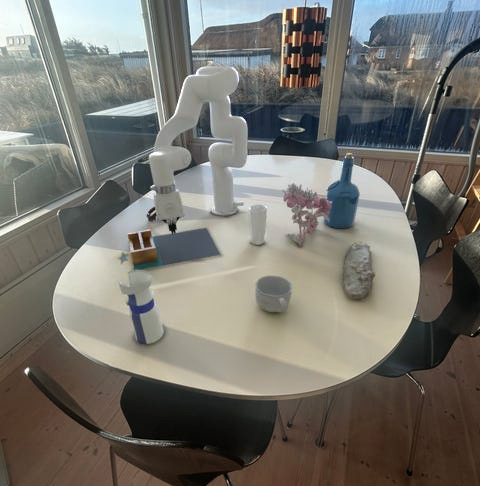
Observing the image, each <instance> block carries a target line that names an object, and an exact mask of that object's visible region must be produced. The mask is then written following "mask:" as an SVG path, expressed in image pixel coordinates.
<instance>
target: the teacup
mask: <svg viewBox="0 0 480 486" xmlns="http://www.w3.org/2000/svg"><path fill="white" fill-rule="evenodd" d="M254 286H255V291H254V293H255V294H254V297H255V298H254V299H255V302H256V304H257V306H258V307H259V308H260V309H261V310H264V311H265V312H268V313H285V312H286V311H287V307H288V306H289V305H290V302H291V299H292V297H291V296H292V291H293V284H292V282H291V281H290V280H289V279H287V278H286V277H283V276H280V275H265V276H262V277H260V278H258V279H257V280H256V281H255V285H254Z"/></svg>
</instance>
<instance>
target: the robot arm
mask: <svg viewBox="0 0 480 486" xmlns="http://www.w3.org/2000/svg"><path fill="white" fill-rule="evenodd" d="M239 82H240V77H239V73H238V71H237V70H236V69H235V68H234V67H233V66H227V65H225V66H223V65H222V66H220V65H219V66H218V65H217V66H215V65H213V66H212V65H211V66H209V65H208V66H201V67H200V68H198V69H197V70H196V72H195V74H191V75H188V76H186V78H184V81H183V83H182V88H181V91H180V94H179V98H178V102H177V105H176V108H175V112H174V114H173V116H172V117H170V119H168V121H166V123H165V124H164V125H163V126H162V127H161V129H160V130H159V131H158V134H157V136H156V139H155V142H154V145H153V147H154V148H153V152H152V153H150V154H149V155H148V162H149V167H150V172H151V177H152V182H153V185H151V186H150V191H153V204H154V206H155V212H156V215H157V217H156V222H163V223H165V224H166V225H167V227H168V231H169V232H170V233H171V234H173V233H177V230H178V227H177V223H178V221H179V220H180V219H182V218H184V217H185V216H186V215H185V212H184V211H185V210H184V206H183V200H182V197H181V194H180V190H179V189H178V188H177V187H176V186H177V185H176V180H175V174H174V172H176V171H181V170H184V169H186V168H188V167H189V166H190V164H191V162H192V154H191V152H190V151H189V150H188V149H187V148H185V147H182V146H175V145H172V144H173V141H174V140H175V139H176V138H177V137H178V136H179V135H181V134H182V133H184V132H186V131H189V130H191V129H193V128H194V127H196V126H197V124H198V122H199V118H200V115H201V112H202V108H203V105H204V103H209V113H210V116H209V117H210V133H211V135H212V137H213V139H216V140H222V141H228V142H222V141H221V142H214V143H212V144H211V145H210V146H209V147H208V152H207V155H208V161H209V165H210V169H211V177H212V191H213V206H212V207H211V208H210V209H211V212H212V214H213V215H215V216H224V217H227V216H232V215H234V214H236V213H237V212H238V207H241V206H244V204H245V203H244V201H240V200H235V197H234V196H235V195H234V174H233V171H232V168H234V169H242V168H243V167H245V165H246V163H247V160H248V144H249V143H248V140H249V135H248V134H249V131H248V123H247V121H246V120H245V119H244V118H243V117H242V116H239V115H232V109H231V108H232V107H231V100H230V97H229V96H230V95H232V94H233V93H234V92H236V90H237V88H238V86H239ZM229 141H230V142H232V143H229ZM169 219H172V220H169Z"/></svg>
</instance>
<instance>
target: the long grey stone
mask: <svg viewBox="0 0 480 486" xmlns="http://www.w3.org/2000/svg"><path fill="white" fill-rule="evenodd" d="M370 248H371V246H370V245H368V244H367V243H366V242H363V241H357V242H356V241H355V242H353V243H352V244H351V245H350V246H349V248H348V250H347V253H346V255H345V262H344V266H343V270H342V281H343V284H342V285H343V289H344V292H345V294H346V296H347V297H348V298H350V299H353V300H362V299H364V298H365V297H366V296H369V295H370V292H371V290H372V289H373V281H374V278H375V277H376V273H375V272H374V271H372V268H371V267H372V260H373V259H372V258H373V257H372V251H371V249H370Z"/></svg>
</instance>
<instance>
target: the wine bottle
mask: <svg viewBox="0 0 480 486" xmlns="http://www.w3.org/2000/svg"><path fill="white" fill-rule="evenodd" d="M354 162H355V157H354V154H353V153H351V152H346V154H345V156H344V158H343V161H342V163H341V166H342V167H341V173H340V178H339V179H338V180H336V181H334V182H333V183H331V184H330V185H329V186H328V187H327V188H326V191H327V192H326V197H328V198H327V200H328V201H332V204H331V206H332V207H331V209H329V208H328V209H329V211H330V213H329V215H328V216H327V217H328V218H329V222H328V220H326V219H325V218H324V217H323V222H324V224H326V225H327V226H328V227H330V228H331V227H332V228H334V229H347V228H351V227H352V226H353V225H354V224H355V220H356V216H357V211H358V204H359V200H360V195H361V194H360V190H359V187H358V186H357V185H356V184H354V183H352V175H353V167H354V165H355V164H354ZM327 200H325V201H327Z"/></svg>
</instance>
